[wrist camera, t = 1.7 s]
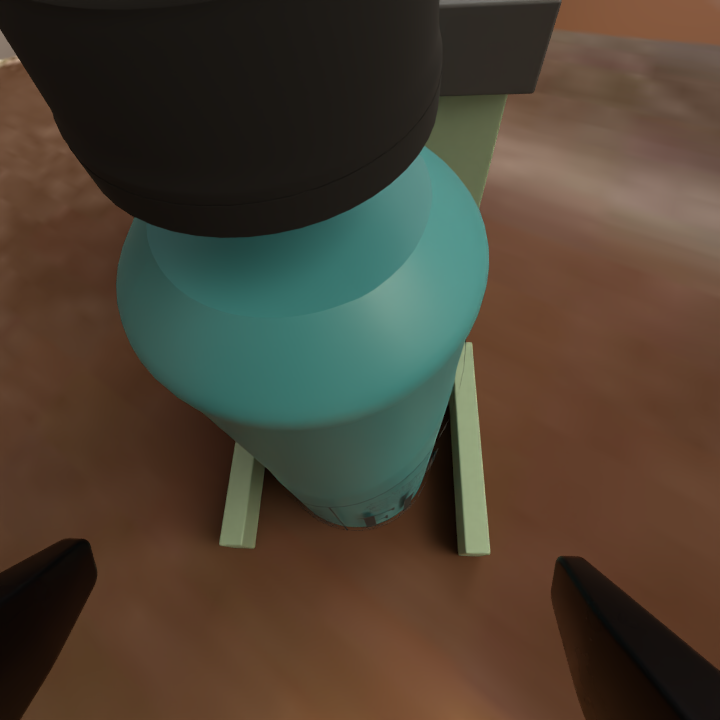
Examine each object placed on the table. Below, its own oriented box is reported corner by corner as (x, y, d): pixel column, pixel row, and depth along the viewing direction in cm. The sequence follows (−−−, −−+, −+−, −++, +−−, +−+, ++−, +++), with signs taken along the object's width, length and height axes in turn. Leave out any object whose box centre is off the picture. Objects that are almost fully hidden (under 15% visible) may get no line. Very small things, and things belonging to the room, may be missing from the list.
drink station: (481, 556, 19) (769, 502, 5) (233, 547, 20) (-177, 478, 5) (456, 248, 26) (538, -138, 12) (277, 250, 27) (154, -112, 13)
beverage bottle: (367, 567, 19) (41, 467, 1) (262, 469, 21) (-417, -102, 3) (454, 453, 21) (843, -244, 3) (351, 373, 23) (225, -310, 5)
